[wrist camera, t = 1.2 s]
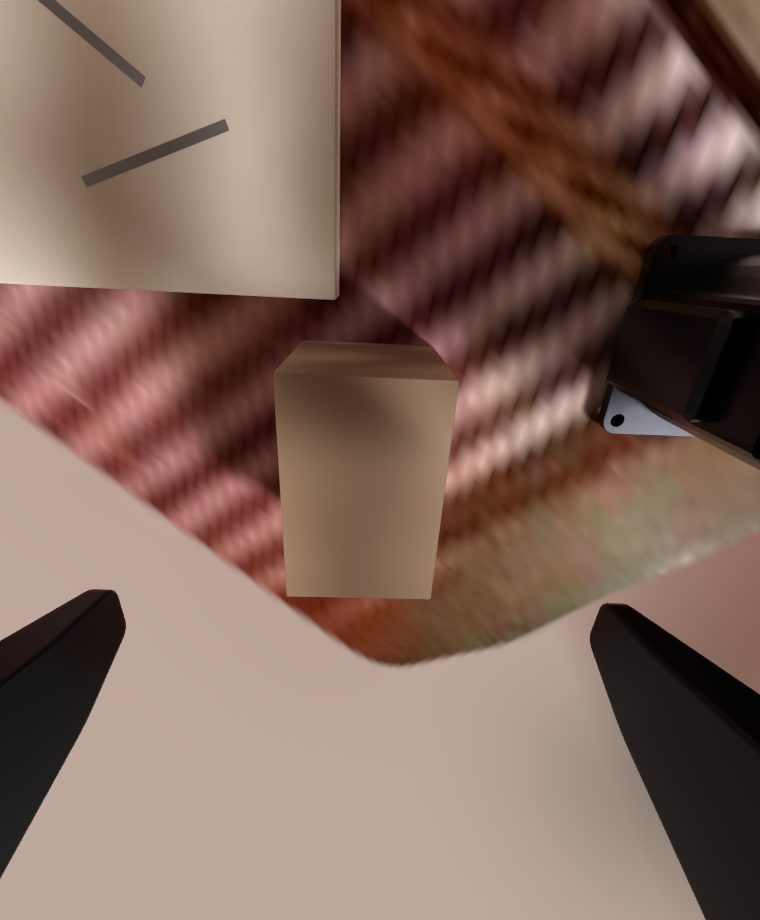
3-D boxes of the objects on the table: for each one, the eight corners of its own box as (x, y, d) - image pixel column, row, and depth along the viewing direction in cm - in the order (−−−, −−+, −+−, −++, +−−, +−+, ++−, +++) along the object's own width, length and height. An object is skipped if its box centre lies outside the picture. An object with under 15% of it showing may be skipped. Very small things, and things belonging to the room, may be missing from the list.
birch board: (342, -177, 9) (334, -284, 8) (339, 295, 14) (334, 299, 12) (-117, -220, 9) (-243, -345, 7) (28, 279, 13) (-27, 281, 11)
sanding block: (431, 345, 15) (458, 380, 10) (414, 513, 17) (430, 599, 13) (303, 339, 14) (272, 373, 10) (308, 509, 17) (287, 596, 13)
